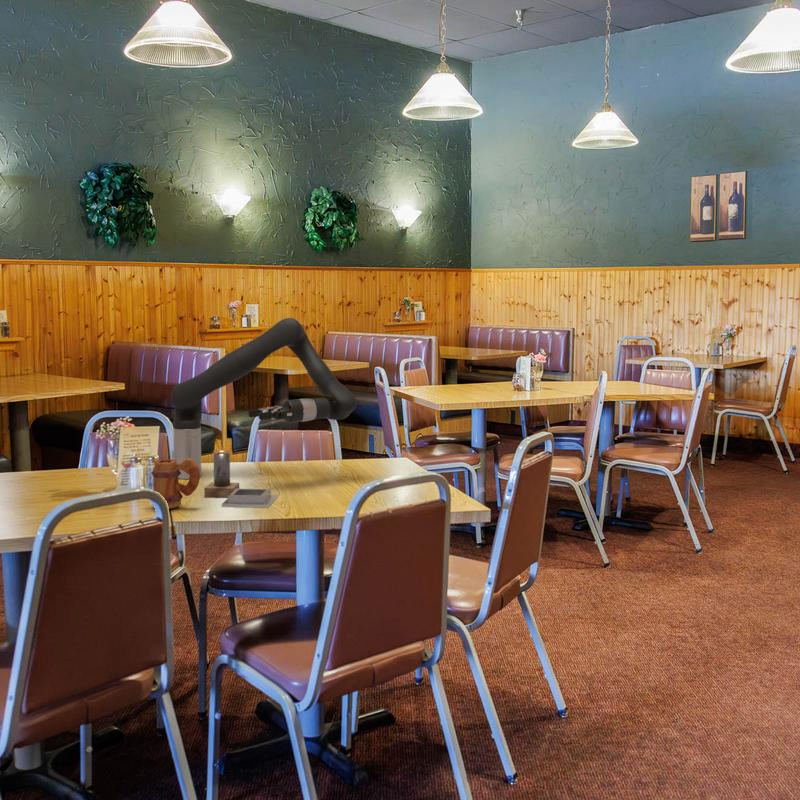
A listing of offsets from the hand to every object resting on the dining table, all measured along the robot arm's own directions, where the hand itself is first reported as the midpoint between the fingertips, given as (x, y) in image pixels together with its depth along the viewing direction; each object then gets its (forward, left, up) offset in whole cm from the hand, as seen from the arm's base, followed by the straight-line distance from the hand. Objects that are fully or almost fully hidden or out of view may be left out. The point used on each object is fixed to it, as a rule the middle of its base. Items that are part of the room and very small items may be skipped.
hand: (254, 415), depth 288 cm
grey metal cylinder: (-9, -6, -22) cm, 24 cm away
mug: (-18, -26, -25) cm, 41 cm away
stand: (-9, -6, -25) cm, 27 cm away
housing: (+2, -16, -25) cm, 30 cm away
